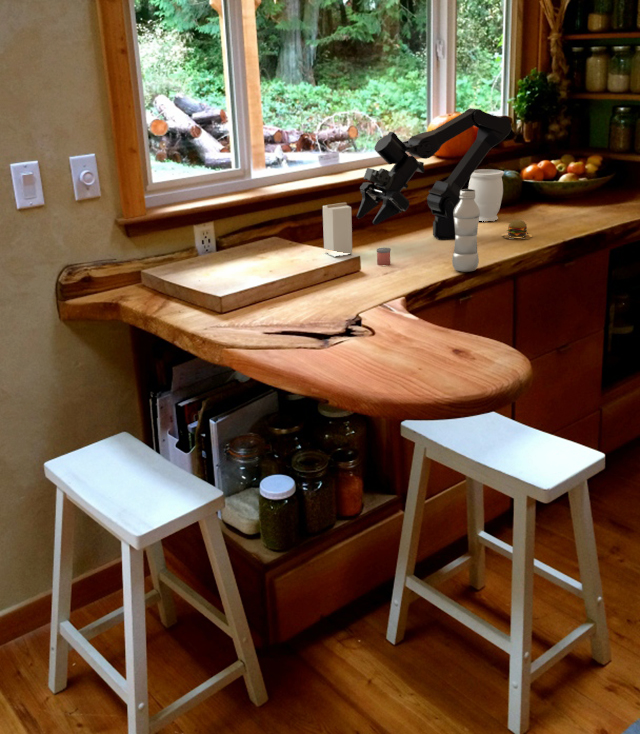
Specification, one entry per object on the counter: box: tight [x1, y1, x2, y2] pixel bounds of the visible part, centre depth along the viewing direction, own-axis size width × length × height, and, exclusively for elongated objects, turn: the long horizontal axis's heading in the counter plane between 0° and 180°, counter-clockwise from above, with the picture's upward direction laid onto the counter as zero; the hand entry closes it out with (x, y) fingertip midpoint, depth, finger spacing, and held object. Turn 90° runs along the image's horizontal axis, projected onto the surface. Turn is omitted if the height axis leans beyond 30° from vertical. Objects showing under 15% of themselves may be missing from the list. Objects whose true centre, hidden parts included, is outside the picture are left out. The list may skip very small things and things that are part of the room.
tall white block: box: [322, 202, 353, 255], centre depth 222 cm, size 6×6×14 cm
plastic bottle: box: [451, 188, 480, 273], centre depth 200 cm, size 6×7×20 cm
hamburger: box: [506, 219, 528, 237], centre depth 234 cm, size 12×12×6 cm
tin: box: [376, 247, 391, 266], centre depth 212 cm, size 4×4×4 cm
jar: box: [467, 168, 505, 223], centre depth 255 cm, size 11×10×15 cm
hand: (365, 220), depth 225 cm, fingers open, 9 cm apart
